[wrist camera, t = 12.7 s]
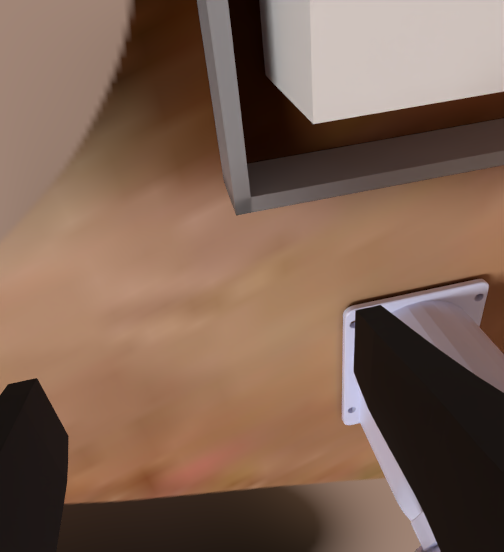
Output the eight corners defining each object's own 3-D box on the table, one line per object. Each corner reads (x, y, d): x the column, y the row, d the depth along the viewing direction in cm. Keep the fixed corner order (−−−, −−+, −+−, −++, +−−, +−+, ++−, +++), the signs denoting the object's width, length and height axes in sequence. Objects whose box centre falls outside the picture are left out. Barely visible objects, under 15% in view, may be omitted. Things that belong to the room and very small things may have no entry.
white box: (417, 50, 18) (519, 88, 13) (264, 74, 18) (313, 124, 13) (431, -99, 16) (564, -119, 11) (252, -76, 15) (307, -86, 10)
